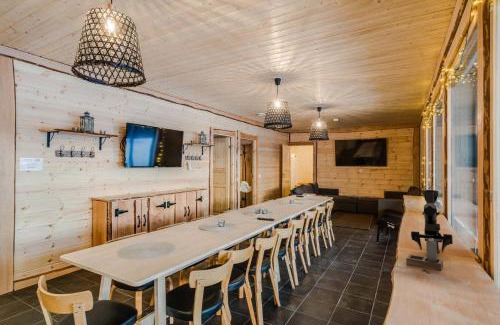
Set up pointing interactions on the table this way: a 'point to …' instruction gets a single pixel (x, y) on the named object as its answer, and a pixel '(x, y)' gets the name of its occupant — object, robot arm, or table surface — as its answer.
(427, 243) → the slate plug
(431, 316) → the table surface
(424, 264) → the box
